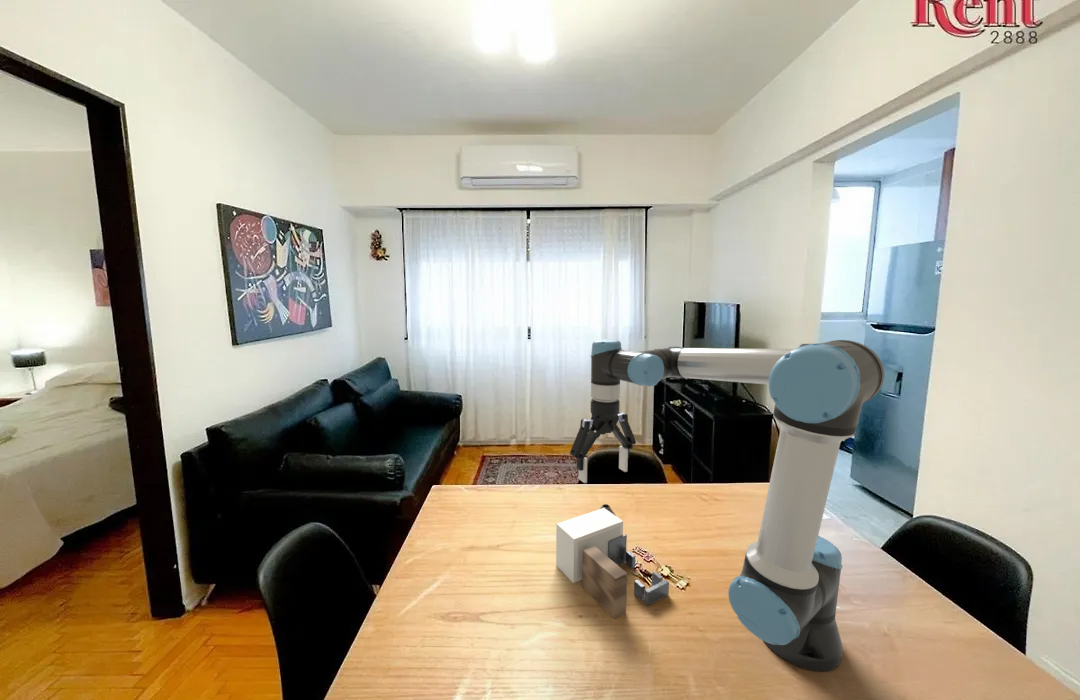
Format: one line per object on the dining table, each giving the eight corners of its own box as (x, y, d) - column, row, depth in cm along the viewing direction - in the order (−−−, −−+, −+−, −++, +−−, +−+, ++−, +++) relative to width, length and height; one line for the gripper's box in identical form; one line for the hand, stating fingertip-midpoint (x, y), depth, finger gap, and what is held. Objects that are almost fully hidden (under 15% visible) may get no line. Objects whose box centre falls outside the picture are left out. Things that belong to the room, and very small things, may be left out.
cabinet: (622, 562, 112) (623, 521, 111) (573, 583, 104) (574, 539, 102) (602, 546, 119) (603, 507, 117) (556, 565, 111) (556, 523, 109)
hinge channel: (668, 594, 100) (670, 564, 99) (647, 606, 97) (648, 574, 96) (626, 560, 113) (627, 533, 112) (606, 569, 110) (606, 541, 108)
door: (625, 613, 95) (627, 573, 93) (614, 619, 93) (615, 578, 92) (593, 581, 105) (594, 545, 104) (582, 586, 103) (582, 549, 102)
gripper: (631, 390, 118) (629, 461, 121) (557, 401, 106) (556, 480, 109) (650, 395, 112) (647, 470, 114) (573, 408, 99) (572, 491, 102)
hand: (603, 475), depth 112 cm, fingers open, 13 cm apart
